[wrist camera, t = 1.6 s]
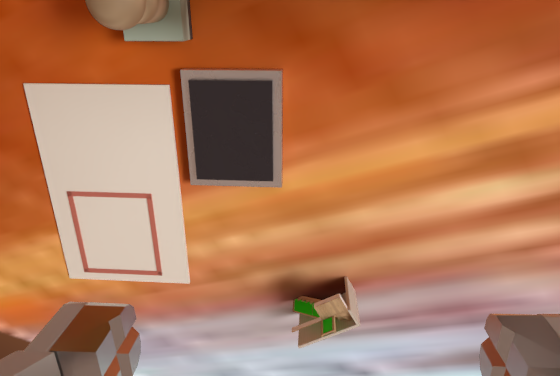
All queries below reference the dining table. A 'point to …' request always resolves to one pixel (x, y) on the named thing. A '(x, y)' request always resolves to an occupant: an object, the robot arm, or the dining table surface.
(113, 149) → the paper sheet
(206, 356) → the dining table surface
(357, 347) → the dining table surface
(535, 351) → the robot arm
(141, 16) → the stamp
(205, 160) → the ink pad
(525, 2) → the dining table surface
